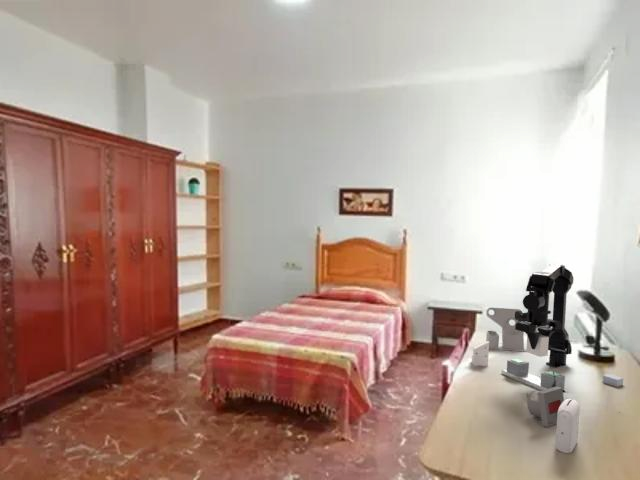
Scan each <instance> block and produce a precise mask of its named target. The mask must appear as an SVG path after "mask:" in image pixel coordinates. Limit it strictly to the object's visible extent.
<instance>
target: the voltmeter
mask: <svg viewBox="0 0 640 480" xmlns="http://www.w3.org/2000/svg"><path fill="white" fill-rule="evenodd" d="M552 371H553V375H554V372H555V371H554V370H552ZM554 380H555V376H554ZM555 385H556V380H555V382H554V383H553V384H552V387H553V386H555ZM562 390H563V389H562V388H561V387H558V386H555V387H553V388H550V389H546V390H543V391H541V390H534V389H533V390H531V391H530V392H528V393H526V398H527V399H526V406H527V407H526V408H527V410H528V412H529V414H530V415H531V416H533V417H536V418H540V419H541V420H539V423H541V426H542V427H551V426H552V425H553V426H554V425H557V414H558V409H559V407H560V405H561V404H562V402H563V401H565V398H564V392H563V391H562Z"/></svg>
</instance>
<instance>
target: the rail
mask: <svg viewBox="0 0 640 480" xmlns="http://www.w3.org/2000/svg"><path fill="white" fill-rule="evenodd" d="M529 368H530V362H529V361H526V360H524V359H520V358H511V359H507V362H506V368H505V369H501V374H502V375H504V376H507V377H508V378H511V379H513V380H515V381H517V382H520V383H522V384H524V385H525V384H526V385H527V386H530V387H531V388H534V389H537V390H538V391H543V390H546V389H550V388H553V387H555V386H558V387H561V388H562V391H563V393H565V392H566V390H564V389H566V387H565V380H566V379H565V378H566V375H565V374H562V373H559V372H556V371H554V370H552V371H551V370H550V371H545V372H541V373H540V377H539V376H536V375H534V374H531V373H529ZM553 371H554V375H553ZM554 376H555V380H556V385H555V386H553V387H552V384H553V383H554V382H555V380H554Z"/></svg>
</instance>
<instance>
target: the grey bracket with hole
mask: <svg viewBox="0 0 640 480" xmlns="http://www.w3.org/2000/svg"><path fill="white" fill-rule="evenodd" d="M490 310H491V311H493V314H490V313H489V311H490ZM516 311H522V310H521V309H518V308H506V307H488V309H486V316H487V318H488V319H490V320H491V321H492V322H494V323H496V324H497V325H498V326H499V327H501V342H500V341H499V340H500V335H499V333H498V332H497V331H496V330H495V331H494V330H487V331H486V339H485V340H486V341H485V342H487V341H489V348H492V349H491V350H496V349H502V350H501V351H508V350H512V351H511V352H521V353H524V352H525V353H527V352H526V348H527V347H525V341H524V340H525V337H524V336H525V335H524V332H522V331H519V330H516V329H515V324H516V323H517V322H518V320H516V319H515V312H516ZM510 321H514V322H515V323H514V325H511V324H510ZM521 322H523V321H521Z"/></svg>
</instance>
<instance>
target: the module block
mask: <svg viewBox="0 0 640 480" xmlns="http://www.w3.org/2000/svg"><path fill="white" fill-rule="evenodd" d="M548 342H549V337H547V336H544V335H540V336H539V339H538V342H537V345H536V347H535V349H532V348H531V345H530V341H529V338H528V336H527V335H526V347H525V348H526V352H525V353H528V354H531V355H534V356H537V357H541V358H542V357H546V356H547V357H548V355H549V350H548Z"/></svg>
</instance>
